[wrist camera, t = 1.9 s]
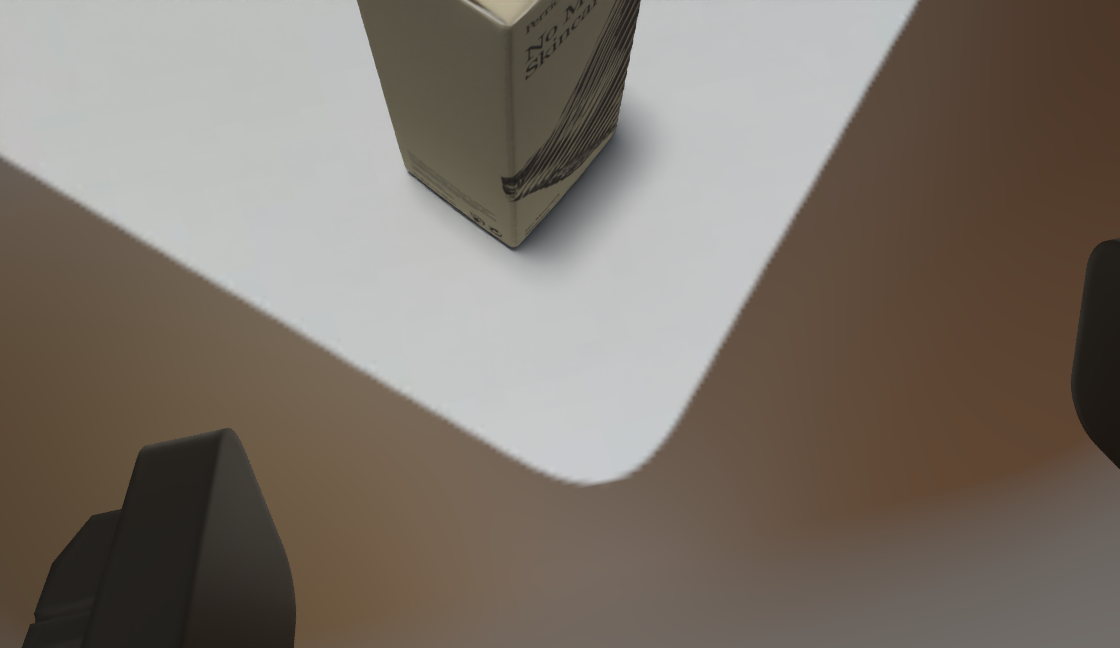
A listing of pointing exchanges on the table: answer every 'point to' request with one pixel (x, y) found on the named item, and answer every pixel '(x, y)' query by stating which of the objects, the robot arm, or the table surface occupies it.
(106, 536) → the robot arm
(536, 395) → the table surface
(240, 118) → the table surface
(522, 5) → the box
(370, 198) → the table surface
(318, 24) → the table surface
